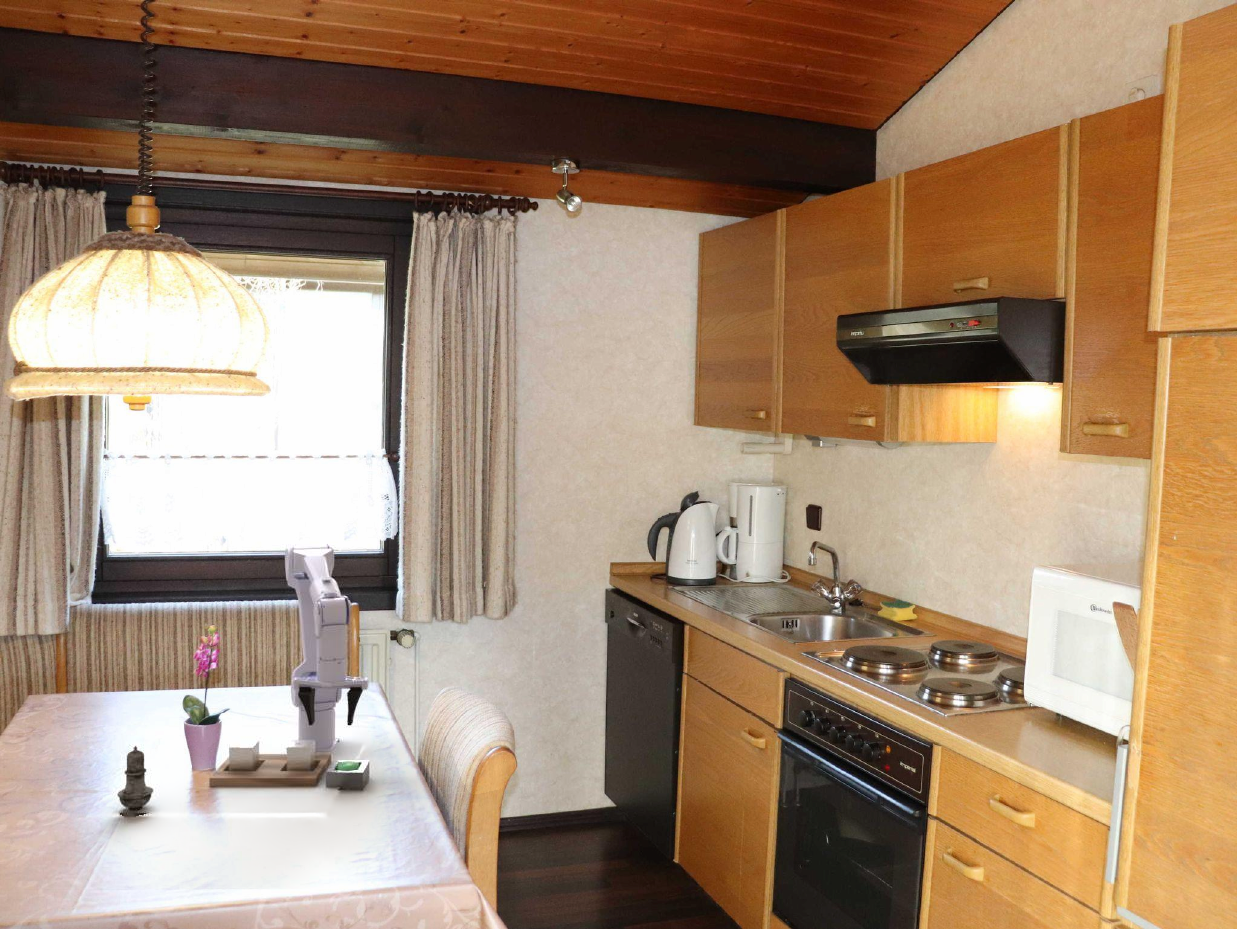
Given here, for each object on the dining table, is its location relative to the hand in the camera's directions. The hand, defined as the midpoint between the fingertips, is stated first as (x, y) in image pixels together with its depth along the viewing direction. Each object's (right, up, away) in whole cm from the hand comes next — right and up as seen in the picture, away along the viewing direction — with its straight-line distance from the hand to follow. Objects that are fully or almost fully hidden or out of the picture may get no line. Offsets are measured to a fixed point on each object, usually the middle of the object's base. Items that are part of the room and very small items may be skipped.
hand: (330, 723), depth 213 cm
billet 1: (-16, -9, -4) cm, 19 cm away
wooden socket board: (-10, -9, -4) cm, 15 cm away
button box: (+5, -10, -7) cm, 13 cm away
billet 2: (-5, -9, -4) cm, 11 cm away
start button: (+5, -9, -7) cm, 13 cm away
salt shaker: (-29, -10, -23) cm, 38 cm away
